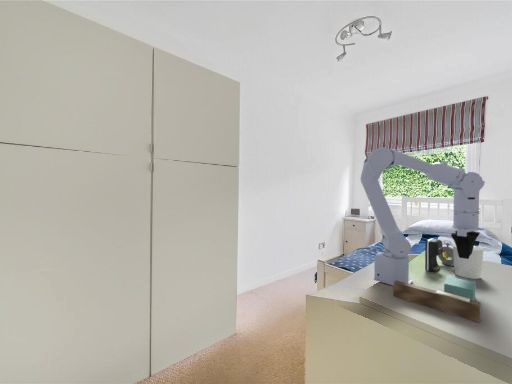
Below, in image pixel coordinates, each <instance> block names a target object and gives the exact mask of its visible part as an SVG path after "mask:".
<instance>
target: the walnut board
mask: <svg viewBox="0 0 512 384" xmlns="http://www.w3.org/2000/svg"><path fill="white" fill-rule="evenodd" d="M393 297H395V298H399V299H403V300H406V301H409V302H412V303H415V304H418V305H422V306H425V307H428V308H430V309H434V310H438V311H441V312H445V313H448V314H451V315H454V316H458V317H460V318H464V319H467V320H470V321H473V322H477V323H480V321H481V305H482V304H481V303H482V302H480V301H476V300H475V301H473V300H470V299H469V298H465V297H461V296H458V295H454V294H450V293H446V292H444V291H441V290H438V289H437V290H434V289H430V288H427V287H423V286H419V285H416V284H413V283H411V284H408V283H405V282H401V281H397V280H396V281H394V286H393Z"/></svg>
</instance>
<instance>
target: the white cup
mask: <svg viewBox="0 0 512 384" xmlns="http://www.w3.org/2000/svg"><path fill="white" fill-rule="evenodd" d="M452 248H453V258H454V266H453V267H454V273H455V275H457V276H458V277H462V278H466V279H472V280H477V279H481V278H482V269H483V259H484V248H483V247H480V246H477V245H474V247H473V251H472V254H471V255H470V256H469V259H465V258H459V255H458V251H457V247H456V244H455V243H454V244H453V245H452Z"/></svg>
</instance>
